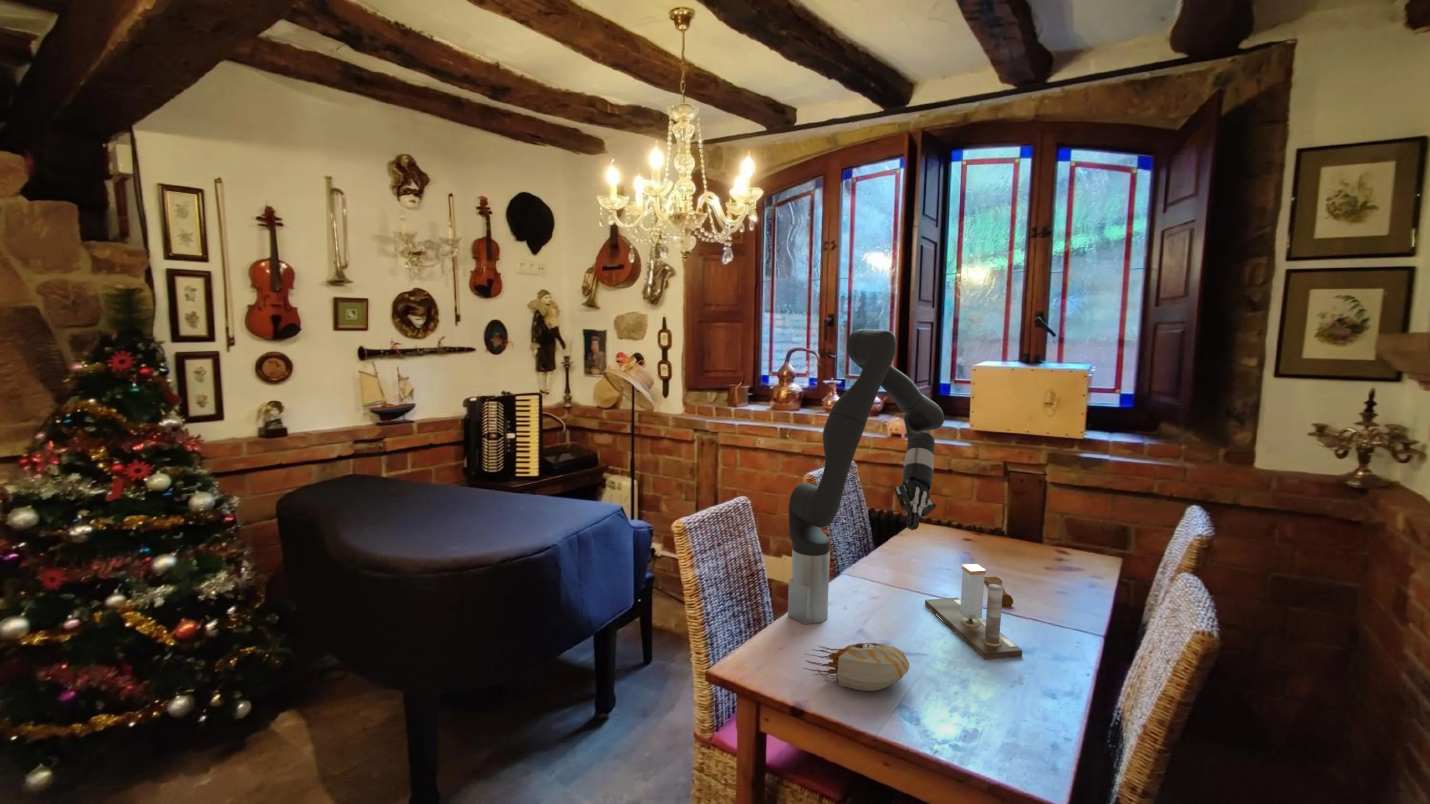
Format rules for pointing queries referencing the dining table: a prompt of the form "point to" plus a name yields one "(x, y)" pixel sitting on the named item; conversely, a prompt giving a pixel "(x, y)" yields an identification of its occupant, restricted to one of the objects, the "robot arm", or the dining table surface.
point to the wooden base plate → (978, 625)
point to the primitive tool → (1006, 598)
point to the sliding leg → (972, 591)
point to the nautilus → (865, 666)
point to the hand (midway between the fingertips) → (912, 528)
